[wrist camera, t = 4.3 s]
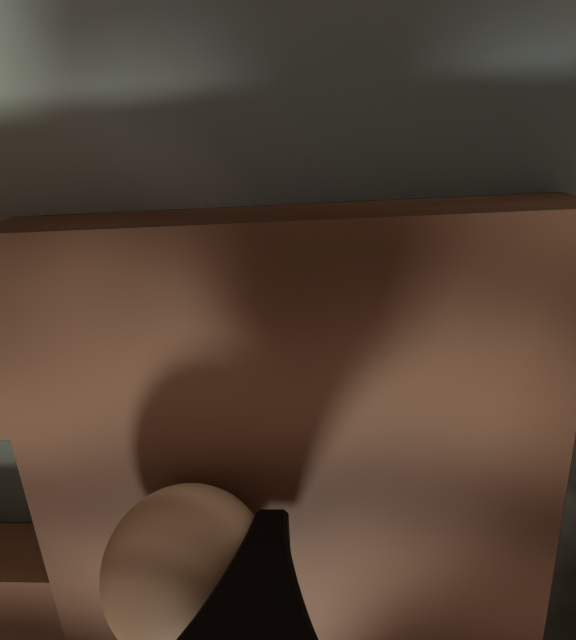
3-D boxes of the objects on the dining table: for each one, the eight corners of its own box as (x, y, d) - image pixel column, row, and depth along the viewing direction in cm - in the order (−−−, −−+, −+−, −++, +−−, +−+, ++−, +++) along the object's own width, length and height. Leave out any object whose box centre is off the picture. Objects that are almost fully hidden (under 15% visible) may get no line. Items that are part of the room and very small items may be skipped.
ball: (295, 589, 15) (236, 737, 11) (167, 560, 16) (77, 685, 12) (288, 463, 13) (220, 584, 10) (149, 443, 14) (44, 544, 11)
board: (504, 647, 19) (529, 721, 17) (-74, 635, 21) (-125, 700, 18) (561, 192, 13) (611, 207, 11) (-238, 228, 15) (-342, 247, 13)
